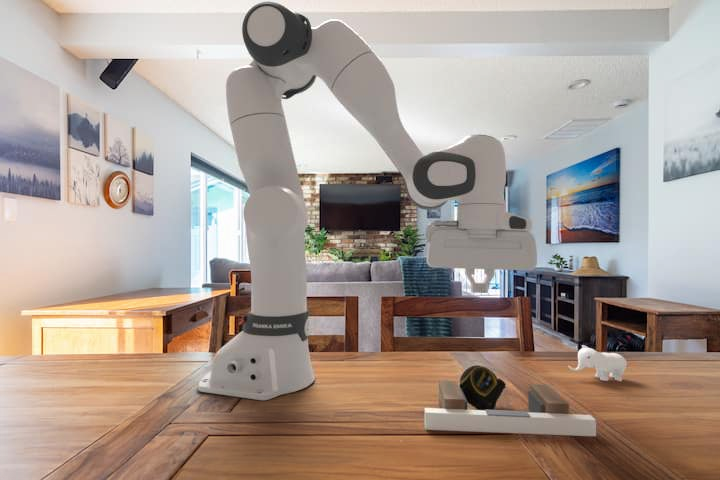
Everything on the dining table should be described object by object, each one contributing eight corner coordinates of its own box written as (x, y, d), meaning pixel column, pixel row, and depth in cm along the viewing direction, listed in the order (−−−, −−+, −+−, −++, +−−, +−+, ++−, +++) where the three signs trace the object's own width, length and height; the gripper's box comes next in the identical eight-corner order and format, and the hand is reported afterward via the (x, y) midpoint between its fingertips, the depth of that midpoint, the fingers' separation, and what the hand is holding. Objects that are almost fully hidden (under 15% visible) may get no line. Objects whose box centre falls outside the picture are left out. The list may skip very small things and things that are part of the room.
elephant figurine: (558, 372, 78) (558, 343, 78) (613, 372, 78) (613, 342, 78) (579, 386, 71) (579, 353, 71) (640, 385, 71) (640, 353, 71)
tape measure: (482, 421, 59) (494, 413, 57) (449, 390, 62) (459, 381, 59) (499, 392, 64) (510, 384, 61) (467, 364, 66) (477, 355, 63)
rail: (425, 432, 54) (425, 402, 54) (421, 406, 62) (421, 380, 62) (596, 441, 51) (596, 409, 51) (567, 412, 60) (567, 385, 60)
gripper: (427, 219, 68) (426, 293, 68) (541, 221, 66) (539, 296, 66) (424, 221, 74) (423, 288, 74) (528, 222, 72) (527, 292, 72)
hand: (479, 292), depth 70 cm, fingers closed
